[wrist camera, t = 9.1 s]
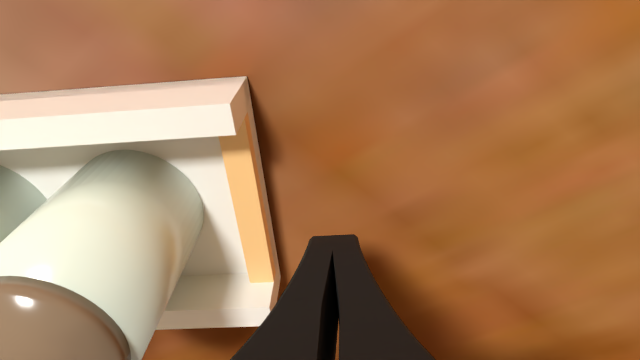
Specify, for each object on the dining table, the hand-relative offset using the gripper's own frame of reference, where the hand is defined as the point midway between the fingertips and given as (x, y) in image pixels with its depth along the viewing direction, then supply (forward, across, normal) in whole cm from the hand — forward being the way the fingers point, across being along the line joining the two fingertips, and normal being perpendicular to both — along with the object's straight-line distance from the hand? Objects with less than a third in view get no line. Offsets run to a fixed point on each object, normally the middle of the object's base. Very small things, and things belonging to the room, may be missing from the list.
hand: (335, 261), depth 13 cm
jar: (+4, +8, 0) cm, 9 cm away
